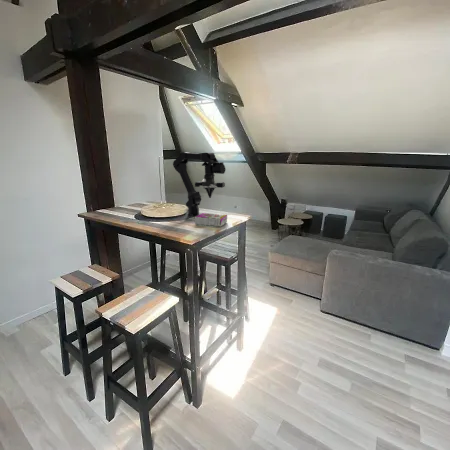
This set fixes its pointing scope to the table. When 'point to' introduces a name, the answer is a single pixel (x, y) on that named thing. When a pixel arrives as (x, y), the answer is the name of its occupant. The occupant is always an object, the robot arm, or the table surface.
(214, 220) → the candy bar box
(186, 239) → the table surface
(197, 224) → the mat
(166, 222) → the table surface
